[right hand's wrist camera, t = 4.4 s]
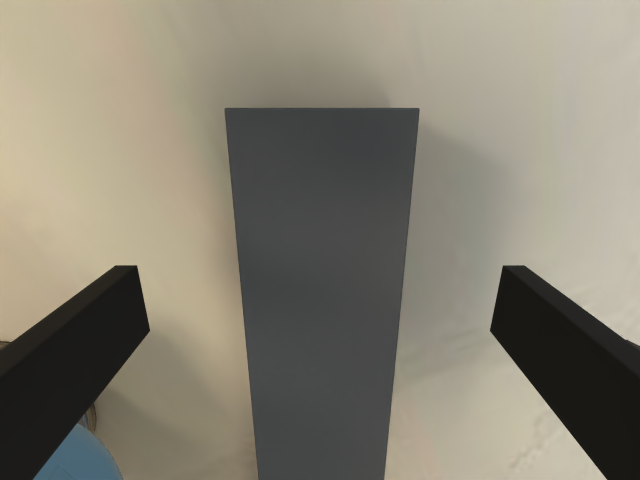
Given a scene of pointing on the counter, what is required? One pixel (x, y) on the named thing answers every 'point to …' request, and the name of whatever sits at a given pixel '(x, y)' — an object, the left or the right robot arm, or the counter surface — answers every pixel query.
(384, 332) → the slab
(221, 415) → the counter surface
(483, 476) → the counter surface
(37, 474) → the left robot arm
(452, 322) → the counter surface
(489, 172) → the counter surface
